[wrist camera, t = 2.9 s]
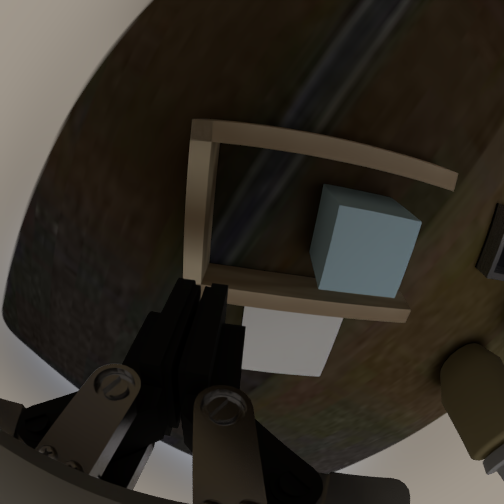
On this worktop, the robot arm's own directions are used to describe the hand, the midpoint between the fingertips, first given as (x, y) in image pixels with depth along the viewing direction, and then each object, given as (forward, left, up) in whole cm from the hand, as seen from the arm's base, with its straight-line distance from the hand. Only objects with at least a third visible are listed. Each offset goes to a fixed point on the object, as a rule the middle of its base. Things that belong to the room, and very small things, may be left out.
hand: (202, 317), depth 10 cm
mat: (+11, +5, -11) cm, 16 cm away
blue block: (0, +8, -11) cm, 14 cm away
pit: (-2, +24, -11) cm, 26 cm away
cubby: (0, +6, -11) cm, 13 cm away
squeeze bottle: (+13, +26, -11) cm, 31 cm away
